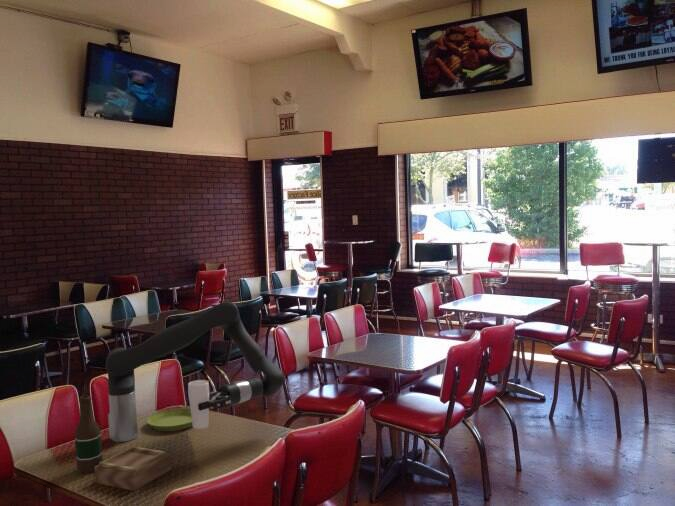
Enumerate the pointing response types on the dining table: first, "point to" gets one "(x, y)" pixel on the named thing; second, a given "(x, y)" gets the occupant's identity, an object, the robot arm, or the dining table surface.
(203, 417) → the drinking glass
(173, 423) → the saucer
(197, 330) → the robot arm
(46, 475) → the dining table surface
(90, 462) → the beer bottle
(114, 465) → the wooden box
